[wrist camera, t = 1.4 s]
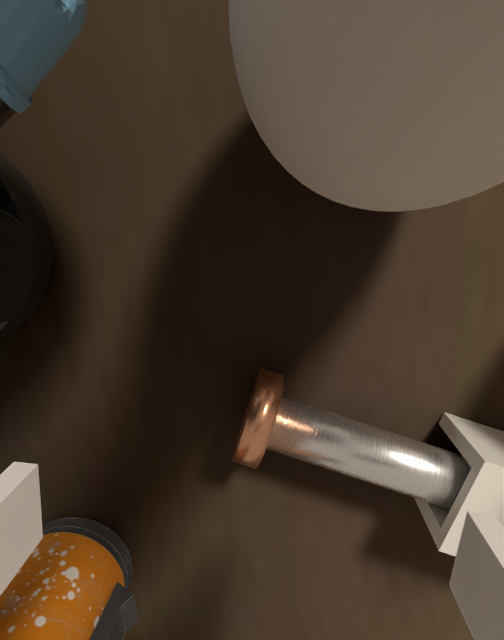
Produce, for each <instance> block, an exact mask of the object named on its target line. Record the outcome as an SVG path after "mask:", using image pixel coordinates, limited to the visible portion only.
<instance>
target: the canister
mask: <svg viewBox="0 0 504 640" xmlns="http://www.w3.org/2000/svg"><path fill="white" fill-rule="evenodd" d="M42 531H43V538H42V539H41V541H40V542H39V544H38V545H37V546H36V548H35V549H34V550H33V552H32V553H31V555H30V556H29V557H28V559H27V560H26V561H25V563H24V564H23V566H22V567H21V568H20V570H19V571H18V572H17V574H16V575H15V576H14V578H13V579H12V581H11V582H10V583H9V585H8V586H7V587H6V589H5V590H4V592H3V593H2V594H1V596H0V640H123V637H124V635H125V632H126V631H127V630H128V629H129V628H130V627H131V626H132V625H133V624H134V623H135V622H136V621H137V620H138V617H137V611H136V605H135V599H134V595H133V594H132V593H131V592H130V591H129V590H127V588H128V586H129V584H130V581H131V578H132V571H133V567H132V560H131V556H130V554H129V551H128V549H127V547H126V546H125V544H124V543H123V541H122V540H121V539H120V538H119V537H118V536H117V535H116V534H115V533H114V532H113V531H112V530H110V529H109V528H107V527H106V526H104V525H102V524H100V523H98V522H96V521H93V520H90V519H86V518H81V517H66V518H61V519H57V520H55V521H52V522H50V523H49V524H47V525H46V526H44V527H43V528H42Z"/></svg>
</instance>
